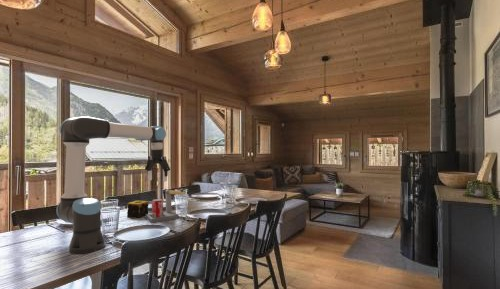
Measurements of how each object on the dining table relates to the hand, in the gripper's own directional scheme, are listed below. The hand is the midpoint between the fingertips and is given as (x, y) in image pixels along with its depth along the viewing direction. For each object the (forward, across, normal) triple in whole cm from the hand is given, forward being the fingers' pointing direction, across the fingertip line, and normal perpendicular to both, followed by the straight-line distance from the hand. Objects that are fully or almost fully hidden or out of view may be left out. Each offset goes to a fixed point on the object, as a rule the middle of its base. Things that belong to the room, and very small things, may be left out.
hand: (157, 180), depth 184 cm
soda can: (+26, 0, 0) cm, 26 cm away
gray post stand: (+26, 0, +3) cm, 26 cm away
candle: (+26, -18, 0) cm, 32 cm away
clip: (+10, +6, +10) cm, 16 cm away
